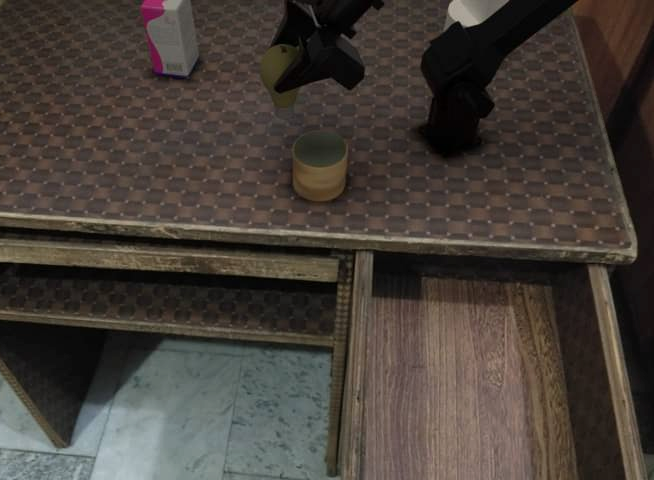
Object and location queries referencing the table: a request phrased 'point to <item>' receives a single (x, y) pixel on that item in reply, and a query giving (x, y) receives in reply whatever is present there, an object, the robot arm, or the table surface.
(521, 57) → the table surface
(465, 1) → the drinking glass
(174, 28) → the supplement box
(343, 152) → the tan cup
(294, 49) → the light bulb
